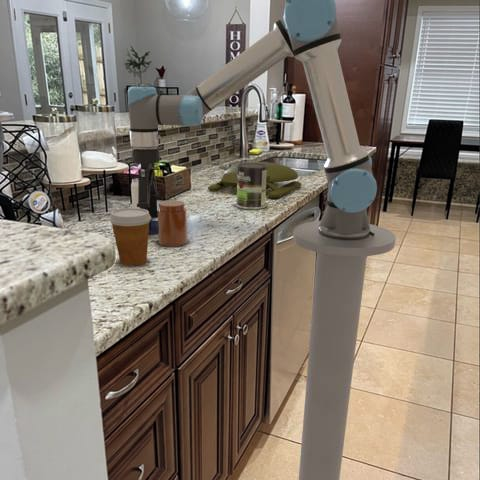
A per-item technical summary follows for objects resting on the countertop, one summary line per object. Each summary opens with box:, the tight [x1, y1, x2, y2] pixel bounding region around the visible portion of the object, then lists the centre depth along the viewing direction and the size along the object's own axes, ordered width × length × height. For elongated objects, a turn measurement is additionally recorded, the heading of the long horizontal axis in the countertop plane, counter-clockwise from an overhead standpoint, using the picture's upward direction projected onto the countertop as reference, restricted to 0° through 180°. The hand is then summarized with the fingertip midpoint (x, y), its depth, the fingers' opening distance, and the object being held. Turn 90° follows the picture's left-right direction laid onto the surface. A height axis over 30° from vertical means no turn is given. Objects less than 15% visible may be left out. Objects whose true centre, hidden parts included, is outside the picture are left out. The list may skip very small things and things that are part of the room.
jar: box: [157, 200, 188, 247], centre depth 134 cm, size 8×8×11 cm
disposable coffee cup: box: [108, 207, 152, 267], centre depth 118 cm, size 10×10×12 cm
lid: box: [148, 219, 159, 235], centre depth 146 cm, size 8×8×2 cm
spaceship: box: [207, 161, 303, 199], centre depth 205 cm, size 35×31×10 cm
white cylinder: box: [130, 177, 153, 220], centre depth 157 cm, size 6×6×12 cm
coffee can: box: [236, 162, 267, 210], centre depth 174 cm, size 10×10×14 cm
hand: (150, 223), depth 146 cm, fingers open, 13 cm apart
